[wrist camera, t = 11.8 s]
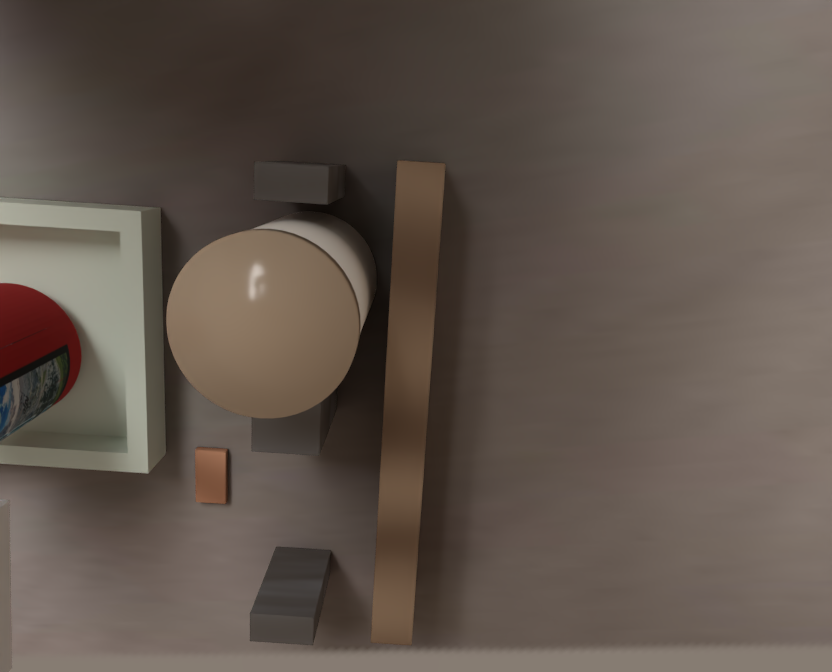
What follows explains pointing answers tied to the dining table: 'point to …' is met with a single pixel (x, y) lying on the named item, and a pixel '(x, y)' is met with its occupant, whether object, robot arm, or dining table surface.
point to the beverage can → (33, 355)
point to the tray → (94, 330)
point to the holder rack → (305, 432)
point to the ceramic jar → (272, 314)
